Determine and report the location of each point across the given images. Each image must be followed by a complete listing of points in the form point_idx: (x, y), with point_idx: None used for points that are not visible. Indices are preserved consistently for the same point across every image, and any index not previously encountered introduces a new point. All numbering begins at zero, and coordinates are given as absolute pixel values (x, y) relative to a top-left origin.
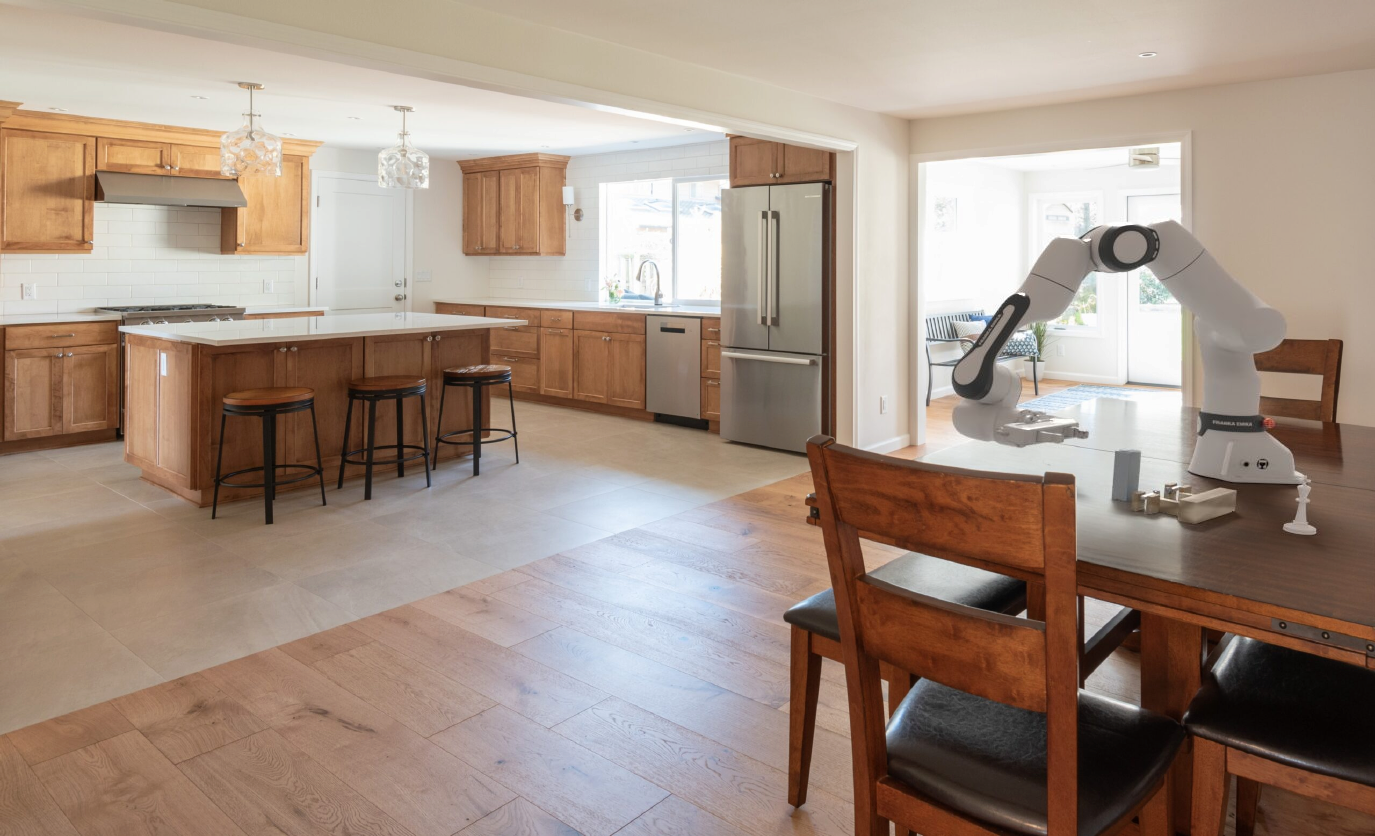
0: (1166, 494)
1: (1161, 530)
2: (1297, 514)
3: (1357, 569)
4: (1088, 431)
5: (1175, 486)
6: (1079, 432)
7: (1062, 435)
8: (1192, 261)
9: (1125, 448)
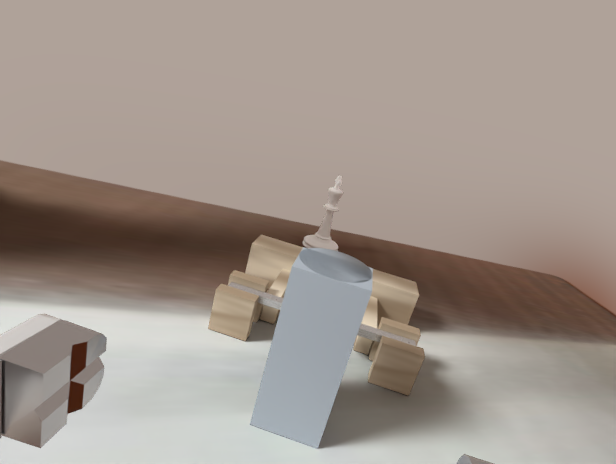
0: (251, 322)
1: (494, 354)
2: (330, 228)
3: (427, 250)
4: (47, 315)
5: (246, 291)
6: (61, 378)
7: (485, 462)
8: None
9: (298, 266)
